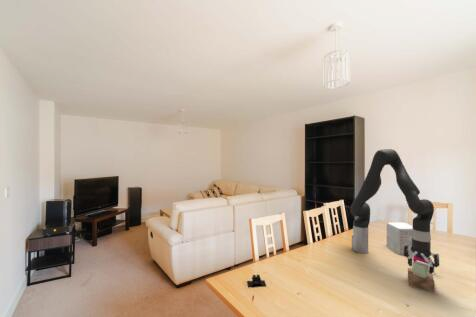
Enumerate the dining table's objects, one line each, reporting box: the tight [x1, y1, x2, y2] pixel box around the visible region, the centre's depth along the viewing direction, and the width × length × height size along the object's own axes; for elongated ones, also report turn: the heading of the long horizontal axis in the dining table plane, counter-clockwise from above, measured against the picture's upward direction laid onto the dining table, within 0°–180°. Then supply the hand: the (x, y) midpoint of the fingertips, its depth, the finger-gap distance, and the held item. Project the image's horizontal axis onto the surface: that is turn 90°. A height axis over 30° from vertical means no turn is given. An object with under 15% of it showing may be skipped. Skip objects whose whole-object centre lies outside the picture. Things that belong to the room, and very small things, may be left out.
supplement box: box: [386, 222, 413, 256], centre depth 153 cm, size 13×13×18 cm
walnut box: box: [407, 267, 435, 293], centre depth 115 cm, size 10×10×5 cm
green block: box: [412, 260, 430, 279], centre depth 115 cm, size 5×5×6 cm
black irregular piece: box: [246, 274, 267, 288], centre depth 116 cm, size 12×7×5 cm, turn 94°
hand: (420, 269), depth 115 cm, fingers open, 8 cm apart
